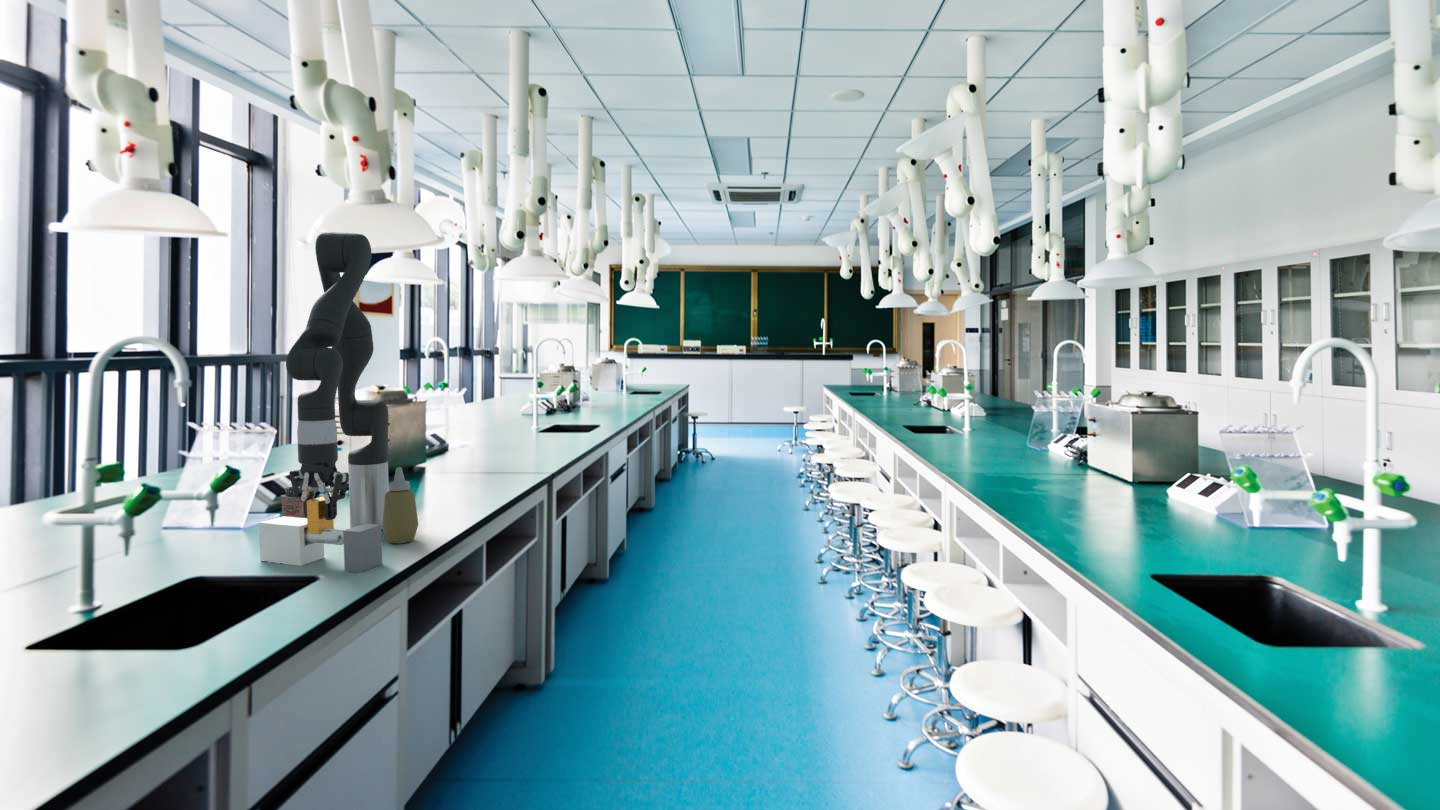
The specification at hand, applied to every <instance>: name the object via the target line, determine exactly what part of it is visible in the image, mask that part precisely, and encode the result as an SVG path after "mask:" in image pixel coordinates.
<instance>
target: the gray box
mask: <svg viewBox="0 0 1440 810" xmlns="http://www.w3.org/2000/svg"><path fill="white" fill-rule="evenodd" d="M343 530H344V531H343V534H344V544H343V558H344V559H343V560H344V561H343V564H344V571H345V572H350V573H351V572H352V573H362V572H365V571H369V570H370V569H374V568H375V567H378V566H380V565H383V546H382V545H383V543H382V535H383V534H382V530H381V525H376V524H363V525H360V526H357V527H353V528H348V529H343Z"/></svg>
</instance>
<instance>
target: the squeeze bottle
mask: <svg viewBox="0 0 1440 810" xmlns="http://www.w3.org/2000/svg"><path fill="white" fill-rule="evenodd" d="M388 483H389V490H390V491H389V492H387V493H386V494H385V500H384V512H383V525H382V529H383V530H382V531H383V534H384V537H385V538H386V541H387V543H389V544H395V543H396V545H398V544H407V543H410V542H412V541H414V540H415V537H416V533H417V530H418V528H419V519H418V511H417V505H416V504H417V503H416V496H415V495H416V494H415V492H414V491H413V490H411V489H410V488H411V483H410V481H408V480H405V475H404V472H403V468H402V467H400V466H399V467H395V473H394V477H393V481H391V482H388Z"/></svg>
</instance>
